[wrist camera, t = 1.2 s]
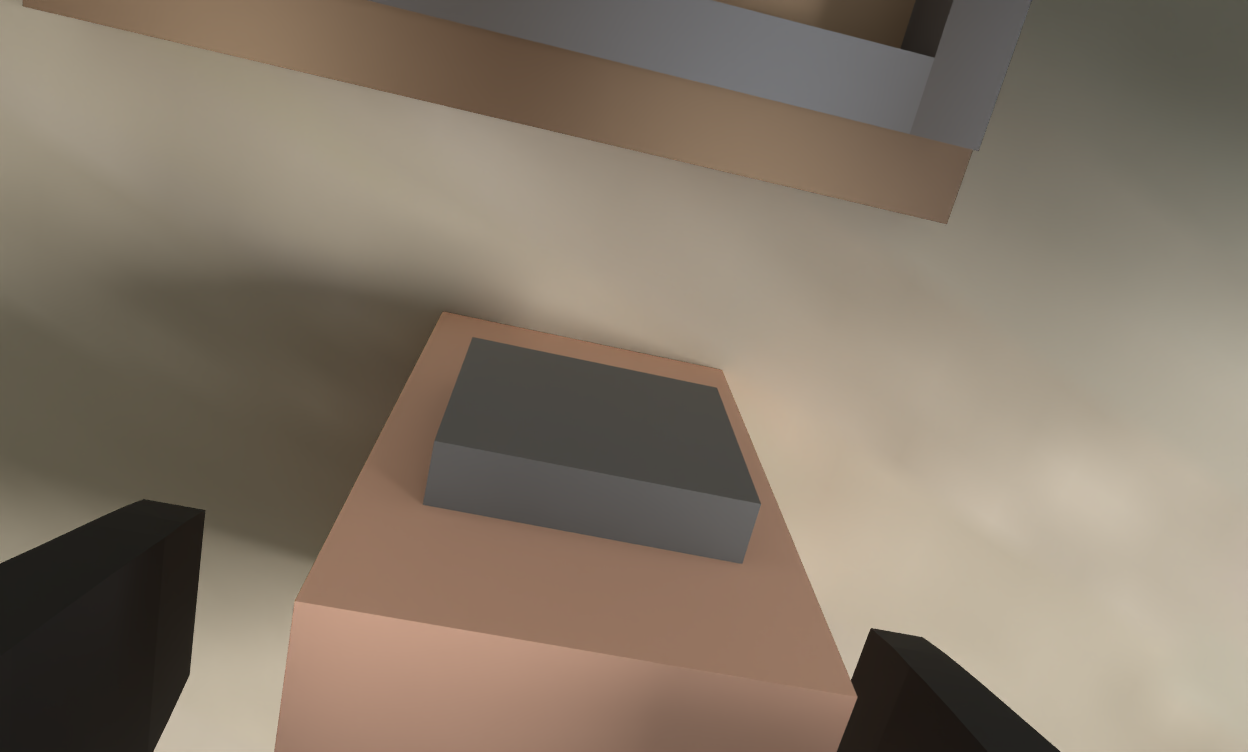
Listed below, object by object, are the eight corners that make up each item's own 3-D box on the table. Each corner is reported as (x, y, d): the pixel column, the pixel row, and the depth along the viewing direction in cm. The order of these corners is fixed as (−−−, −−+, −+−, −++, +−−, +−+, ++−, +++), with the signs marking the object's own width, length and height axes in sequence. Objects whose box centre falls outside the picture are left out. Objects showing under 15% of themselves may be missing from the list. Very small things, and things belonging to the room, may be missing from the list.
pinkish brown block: (733, 330, 13) (884, 627, 6) (648, 625, 15) (700, 1101, 8) (450, 269, 13) (305, 523, 6) (395, 581, 14) (233, 1047, 8)
